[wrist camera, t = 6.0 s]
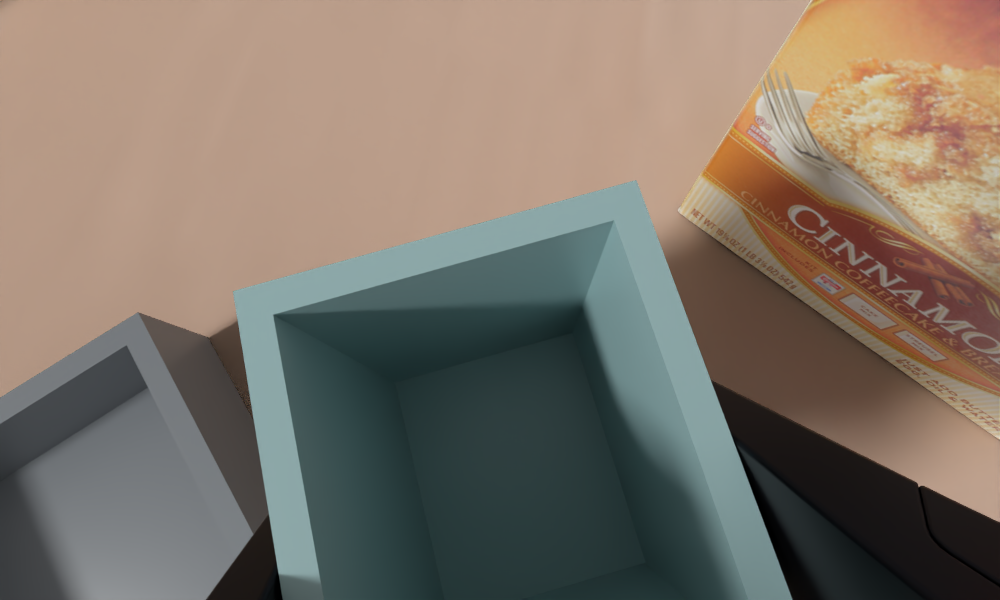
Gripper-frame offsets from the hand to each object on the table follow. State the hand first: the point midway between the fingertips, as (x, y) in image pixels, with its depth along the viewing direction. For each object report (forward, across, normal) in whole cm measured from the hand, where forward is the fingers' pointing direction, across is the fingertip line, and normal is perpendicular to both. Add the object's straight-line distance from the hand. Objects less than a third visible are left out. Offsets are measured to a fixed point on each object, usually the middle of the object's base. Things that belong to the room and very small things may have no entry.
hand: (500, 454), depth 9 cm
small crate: (+4, 0, +5) cm, 7 cm away
